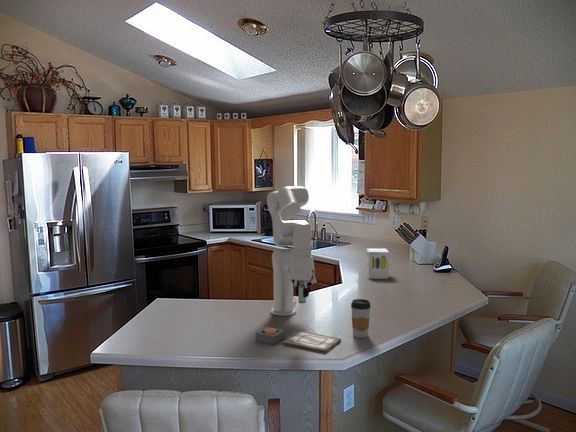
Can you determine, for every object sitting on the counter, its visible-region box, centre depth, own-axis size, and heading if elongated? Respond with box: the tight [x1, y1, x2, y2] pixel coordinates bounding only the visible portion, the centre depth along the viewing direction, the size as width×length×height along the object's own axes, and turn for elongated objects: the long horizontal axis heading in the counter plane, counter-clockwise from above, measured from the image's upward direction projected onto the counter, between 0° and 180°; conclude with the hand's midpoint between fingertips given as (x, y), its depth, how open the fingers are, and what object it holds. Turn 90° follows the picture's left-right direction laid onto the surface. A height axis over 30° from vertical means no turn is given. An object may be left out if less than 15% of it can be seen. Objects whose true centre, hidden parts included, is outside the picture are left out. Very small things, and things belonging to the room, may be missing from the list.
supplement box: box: [365, 247, 390, 280], centre depth 320 cm, size 13×13×18 cm
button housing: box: [255, 326, 286, 345], centre depth 206 cm, size 9×9×3 cm
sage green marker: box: [297, 282, 307, 304], centre depth 205 cm, size 3×3×8 cm
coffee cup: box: [350, 298, 371, 339], centre depth 210 cm, size 8×8×15 cm
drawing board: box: [282, 330, 342, 354], centre depth 203 cm, size 15×19×1 cm
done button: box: [264, 327, 276, 335], centre depth 206 cm, size 5×5×2 cm
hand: (302, 295), depth 205 cm, fingers closed on sage green marker, 3 cm apart
